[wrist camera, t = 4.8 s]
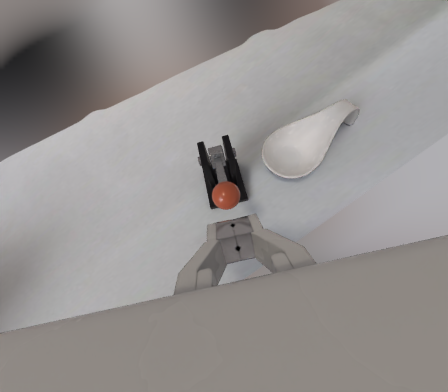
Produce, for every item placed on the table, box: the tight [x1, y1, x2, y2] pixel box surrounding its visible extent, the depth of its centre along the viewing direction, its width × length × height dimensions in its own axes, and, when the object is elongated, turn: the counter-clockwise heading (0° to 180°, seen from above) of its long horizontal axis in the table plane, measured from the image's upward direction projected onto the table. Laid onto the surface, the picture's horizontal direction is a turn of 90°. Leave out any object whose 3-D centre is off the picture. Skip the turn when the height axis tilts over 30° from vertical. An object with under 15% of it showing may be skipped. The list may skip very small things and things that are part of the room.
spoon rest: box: [262, 99, 359, 179], centre depth 34 cm, size 24×12×7 cm, turn 127°
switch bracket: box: [197, 135, 248, 209], centre depth 30 cm, size 10×8×13 cm
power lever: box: [208, 145, 240, 210], centre depth 22 cm, size 13×3×3 cm
